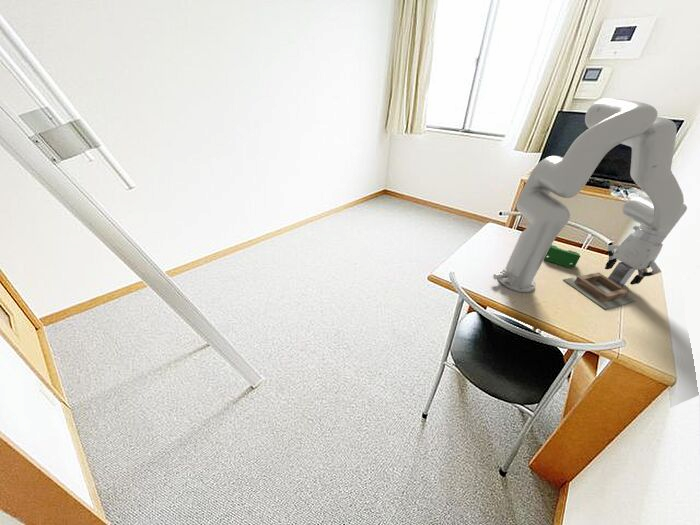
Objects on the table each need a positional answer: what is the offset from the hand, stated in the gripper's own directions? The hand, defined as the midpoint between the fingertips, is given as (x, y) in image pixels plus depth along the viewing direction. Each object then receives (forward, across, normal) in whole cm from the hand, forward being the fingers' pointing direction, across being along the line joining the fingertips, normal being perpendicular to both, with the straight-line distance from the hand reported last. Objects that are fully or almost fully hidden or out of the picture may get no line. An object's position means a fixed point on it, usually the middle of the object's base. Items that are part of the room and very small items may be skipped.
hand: (620, 275), depth 112 cm
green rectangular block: (+3, -17, -10) cm, 20 cm away
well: (+3, +2, -12) cm, 13 cm away
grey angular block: (+3, 0, 0) cm, 3 cm away
